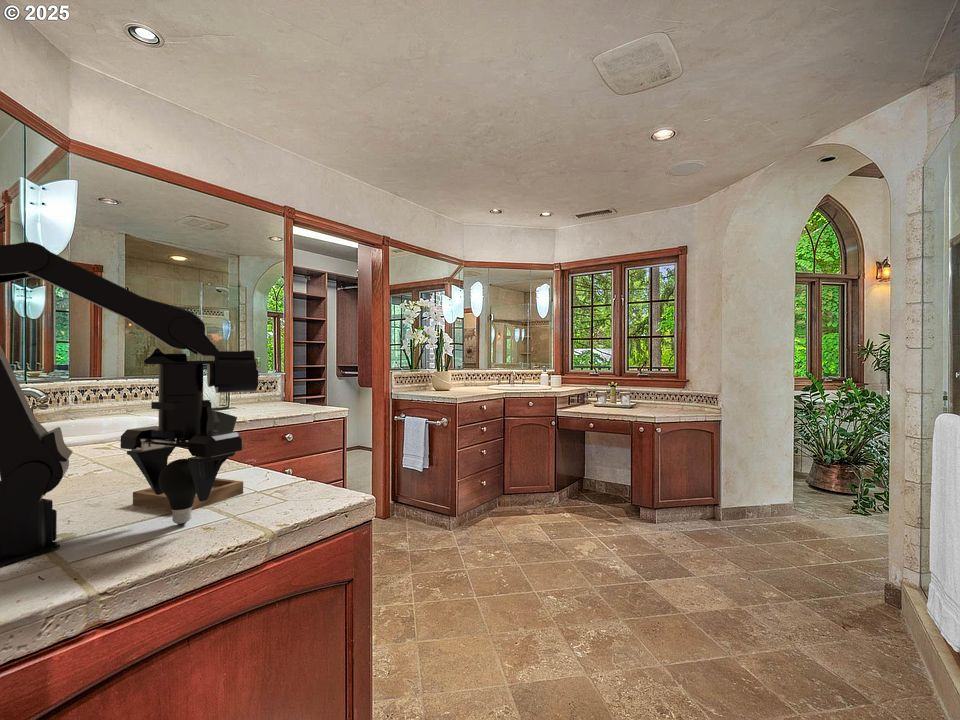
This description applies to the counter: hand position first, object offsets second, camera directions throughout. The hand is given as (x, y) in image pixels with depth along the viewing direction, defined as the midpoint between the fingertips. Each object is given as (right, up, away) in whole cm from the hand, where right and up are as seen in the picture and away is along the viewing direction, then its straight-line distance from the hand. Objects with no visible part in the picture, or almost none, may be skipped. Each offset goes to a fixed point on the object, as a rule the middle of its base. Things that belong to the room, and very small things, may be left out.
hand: (181, 497), depth 71 cm
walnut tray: (-7, -4, +13) cm, 16 cm away
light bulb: (0, -4, 0) cm, 4 cm away
